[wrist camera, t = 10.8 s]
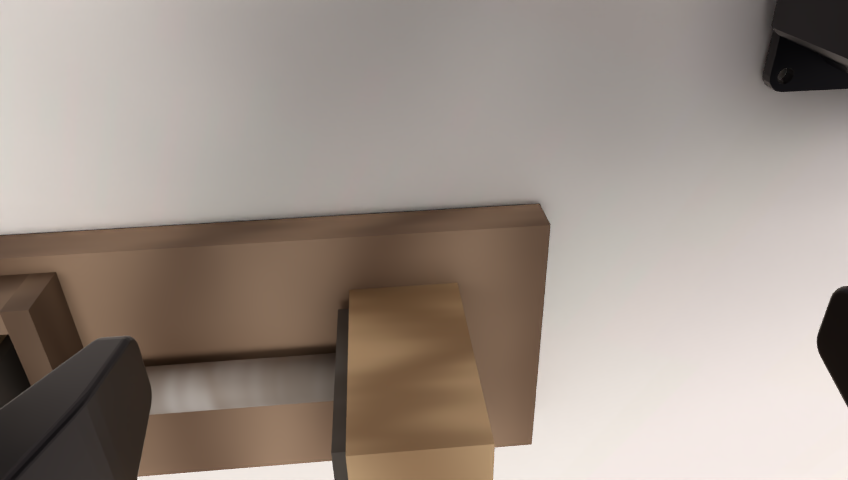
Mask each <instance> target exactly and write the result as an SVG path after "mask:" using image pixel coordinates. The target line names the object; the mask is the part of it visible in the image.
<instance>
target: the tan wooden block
mask: <svg viewBox="0 0 848 480" xmlns="http://www.w3.org/2000/svg"><path fill="white" fill-rule="evenodd" d="M29 387H31V385H30V382H29V380H28V378H27V375H26V373H25V371H24V368H23V366H22V364H21V362H20V359H19V357H18V355H17V352H16V350H15V348H14V345H13V343H12V341H11V338H10V336H9V334H6V335H0V408H2V407H3V406H4V405H6V404H7V403H9V402H10V401H11V400H13V399H14V398H15V397H17V396H18V395H20V394H21V393H22V392H24V391H25V390H26V389H28V388H29Z"/></svg>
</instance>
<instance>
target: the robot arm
mask: <svg viewBox="0 0 848 480" xmlns="http://www.w3.org/2000/svg"><path fill="white" fill-rule="evenodd" d="M772 28H773V29H774V30H773V34H772V38H771V42H770V47H769V51H768V55H767V59H766V63H765V67H764V71H763V81H764V83H765V84H766V85H767V86H768V87H770V88H772V89H773V90H775V91H779V92H789V91H809V90H829V89H848V0H777V4H776V9H775V13H774V17H773V21H772ZM785 68H787V72H786V74H785V76H784V77H783V78H782V79H780V80H778V74H779V72H780V71H782V70H783V69H785ZM817 348H818V351H819V354H820V356H821V358H822V360H823V362H824V364H825V366H826V368H827V369H828V371H829V373H830V375H831V377H832V379H833V381H834V382H835V384H836V386H837V388H838V390H839V392H840V394H841V396H842V397H843V399H844V401H845V403H846V405H847V407H848V286H843V287H840V288H838V289H837V290H836V291H835V292H834V293H833V294H832V296H831V298H830V301H829V304H828V307H827V310H826V312H825V315H824V318H823V321H822V324H821V326H820V329H819V332H818V336H817ZM151 403H152V390H151V384H150V381H149V378H148V374H147V371H146V368H145V365H144V362H143V358H142V355H141V352H140V349H139V346H138V343H137V342H136V340H135V339H134V338H133V337H131V336H114V337H102V338H98V339H96V340H94V341H93V342H91V343H90V344H88V345H87V346H86V347H84V348H83V349H82V350H80V351H79V352H77V353H76V354H75V355H73V356H72V357H71V358H69V359H68V360H66V361H65V362H64V363H62V364H61V365H60V366H58V367H57V368H55V369H54V370H53V371H51V372H50V373H49V374H47V375H46V376H44V377H43V378H42V379H40V380H39V381H37V382H36V383H35V384H33V385H32V386H31V387H29V388H28V389H26V390H25V391H24V392H22V393H21V394H20V395H18V396H17V397H15V398H14V399H13V400H11V401H10V402H9V403H7V404H6V405H4V406H3V407H2V408H0V480H137V477H138V472H139V467H140V462H141V456H142V451H143V446H144V441H145V435H146V430H147V425H148V420H149V414H150V409H151Z"/></svg>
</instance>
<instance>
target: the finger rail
mask: <svg viewBox="0 0 848 480" xmlns="http://www.w3.org/2000/svg"><path fill="white" fill-rule="evenodd" d="M549 236H550V223H549V221H548V219H547V218H546V216H545V214H544V212H543V210H542V208H541V206H540V204H528V205H511V206H494V207H477V208H460V209H443V210H426V211H409V212H393V213H376V214H359V215H342V216H325V217H308V218H291V219H274V220H257V221H240V222H223V223H206V224H189V225H172V226H155V227H138V228H121V229H104V230H87V231H70V232H54V233H37V234H20V235H3V236H0V335H6V334H9V336H10V338H11V341H12V343H13V345H14V348H15V350H16V352H17V355H18V357H19V359H20V362H21V364H22V366H23V368H24V371H25V373H26V375H27V378H28V380H29V382H30V385H31V386H32V385H33V384H35V383H36V382H37V381H39V380H40V379H42V378H43V377H44V376H46V375H47V374H49V373H50V372H51V371H53V370H54V369H55V368H57V367H58V366H60V365H61V364H62V363H64V362H65V361H66V360H68V359H69V358H71V357H72V356H73V355H75V354H76V353H77V352H79V351H80V350H82V349H83V348H84V347H86V346H87V345H88V344H90V343H91V342H93V341H94V340H96V339H98V338H102V337H114V336H131V337H133V338H134V339H135V340H136V342H137V343H138V346H139V349H140V352H141V355H142V358H143V362H144V365H145V368H146V371H147V374H148V378H149V381H150V384H151V390H152V403H151V409H150V414H149V420H148V425H147V430H146V435H145V441H144V446H143V451H142V456H141V462H140V467H139V472H138V476H150V475H162V474H175V473H187V472H199V471H211V470H223V469H236V468H248V467H260V466H272V465H285V464H297V463H309V462H321V461H332V463H333V471H334V478H335V480H493V467H494V447H504V446H517V445H529V444H532V432H533V421H534V409H535V398H536V386H537V374H538V363H539V351H540V340H541V328H542V317H543V305H544V294H545V282H546V270H547V259H548V247H549Z"/></svg>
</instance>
